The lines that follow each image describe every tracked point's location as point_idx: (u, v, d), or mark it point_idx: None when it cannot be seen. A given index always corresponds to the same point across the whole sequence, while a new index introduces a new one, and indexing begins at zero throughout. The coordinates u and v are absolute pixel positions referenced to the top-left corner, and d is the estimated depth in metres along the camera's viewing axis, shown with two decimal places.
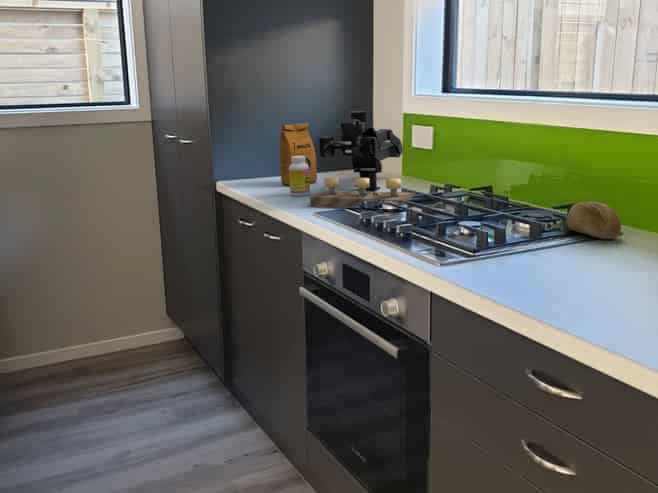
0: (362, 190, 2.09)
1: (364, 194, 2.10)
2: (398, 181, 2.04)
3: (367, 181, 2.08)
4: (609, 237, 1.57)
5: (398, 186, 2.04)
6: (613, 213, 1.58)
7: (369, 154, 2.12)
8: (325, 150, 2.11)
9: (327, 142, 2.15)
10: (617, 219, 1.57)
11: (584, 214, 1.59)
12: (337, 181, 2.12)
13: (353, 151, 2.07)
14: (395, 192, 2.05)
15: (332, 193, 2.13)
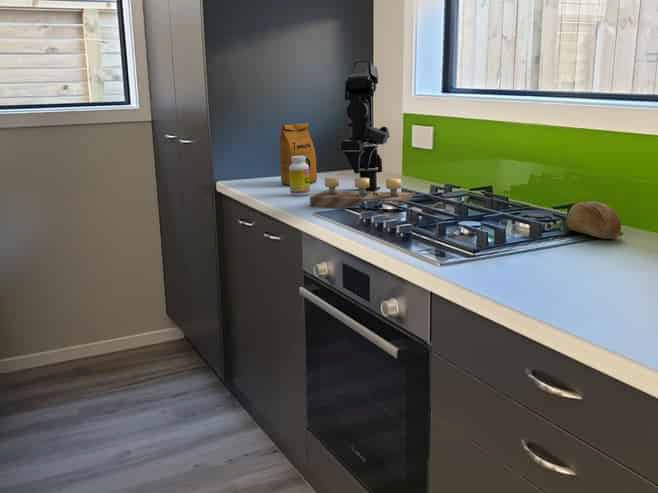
0: (362, 190, 2.09)
1: (364, 194, 2.10)
2: (398, 181, 2.04)
3: (367, 181, 2.08)
4: (609, 236, 1.57)
5: (398, 186, 2.04)
6: (613, 213, 1.58)
7: None
8: None
9: (360, 155, 2.02)
10: (617, 219, 1.57)
11: (584, 214, 1.59)
12: (337, 181, 2.12)
13: None
14: (395, 192, 2.05)
15: (332, 193, 2.13)
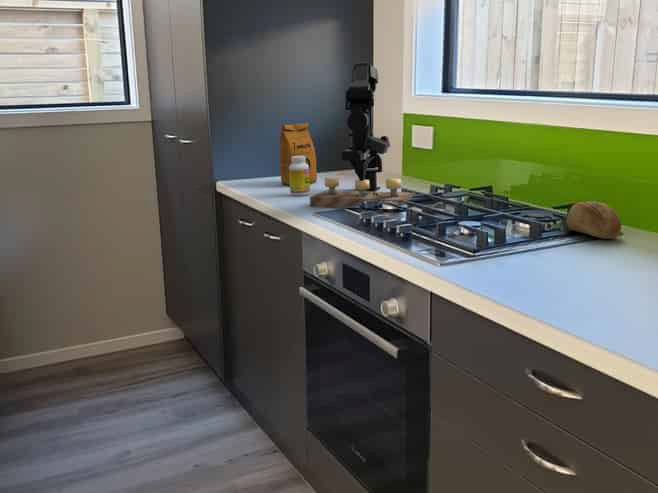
0: (362, 192, 2.09)
1: None
2: (398, 181, 2.04)
3: (367, 183, 2.08)
4: (609, 236, 1.57)
5: (398, 186, 2.04)
6: (613, 213, 1.58)
7: None
8: None
9: (365, 163, 2.06)
10: (617, 219, 1.57)
11: (584, 214, 1.59)
12: (337, 181, 2.12)
13: None
14: (395, 192, 2.05)
15: (332, 193, 2.13)
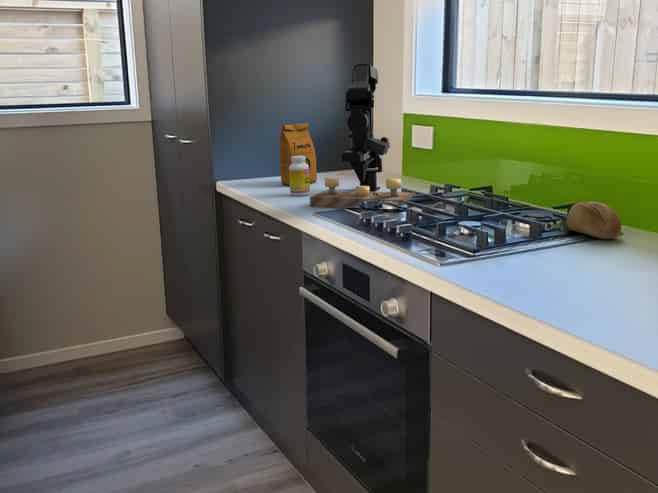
0: None
1: None
2: (398, 181, 2.04)
3: (367, 189, 2.08)
4: (609, 237, 1.57)
5: (398, 186, 2.04)
6: (613, 213, 1.58)
7: None
8: None
9: (365, 164, 2.06)
10: (617, 219, 1.57)
11: (584, 214, 1.59)
12: (337, 181, 2.12)
13: None
14: (395, 192, 2.05)
15: (332, 193, 2.13)
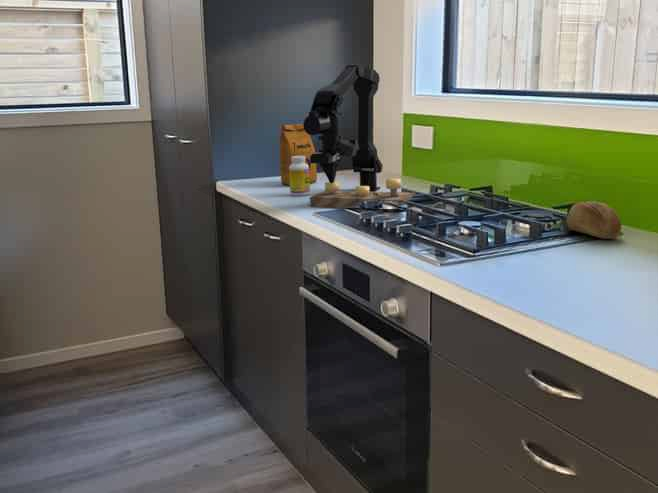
0: None
1: None
2: (398, 181, 2.04)
3: (367, 189, 2.08)
4: (609, 236, 1.57)
5: (398, 186, 2.04)
6: (613, 213, 1.58)
7: None
8: None
9: (334, 165, 2.10)
10: (617, 219, 1.57)
11: (584, 214, 1.59)
12: (337, 185, 2.12)
13: None
14: (395, 192, 2.05)
15: None
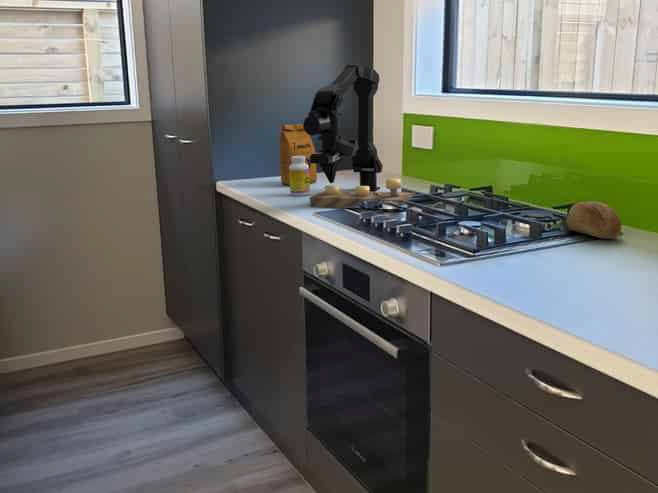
0: None
1: None
2: (398, 181, 2.04)
3: (367, 189, 2.08)
4: (609, 236, 1.57)
5: (398, 186, 2.04)
6: (613, 213, 1.58)
7: None
8: None
9: (334, 165, 2.10)
10: (617, 219, 1.57)
11: (584, 214, 1.59)
12: (337, 189, 2.13)
13: None
14: (395, 192, 2.05)
15: None
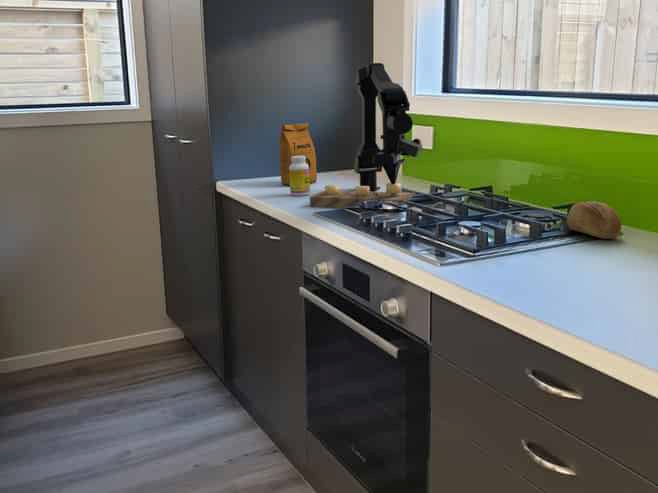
0: None
1: None
2: (398, 185, 2.04)
3: (367, 189, 2.08)
4: (609, 236, 1.57)
5: (399, 190, 2.04)
6: (613, 213, 1.58)
7: None
8: None
9: (397, 166, 2.02)
10: (617, 219, 1.57)
11: (584, 214, 1.59)
12: (337, 189, 2.13)
13: None
14: (395, 196, 2.06)
15: None
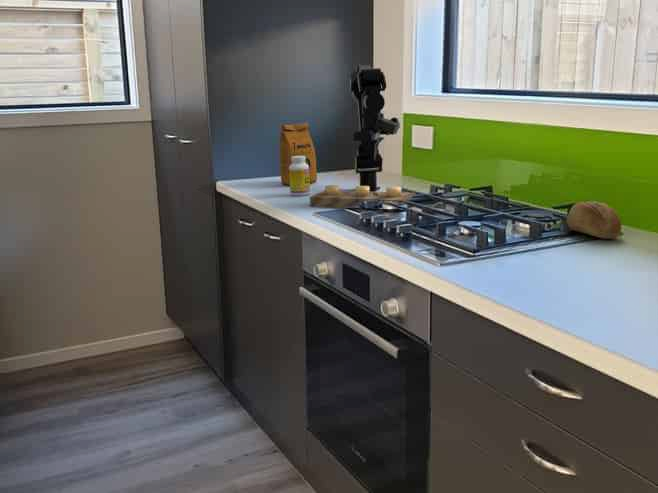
0: None
1: None
2: (398, 189, 2.04)
3: (367, 189, 2.08)
4: (609, 236, 1.57)
5: (399, 194, 2.05)
6: (613, 213, 1.58)
7: None
8: None
9: (376, 143, 2.14)
10: (617, 219, 1.57)
11: (584, 214, 1.59)
12: (337, 189, 2.13)
13: None
14: None
15: None
